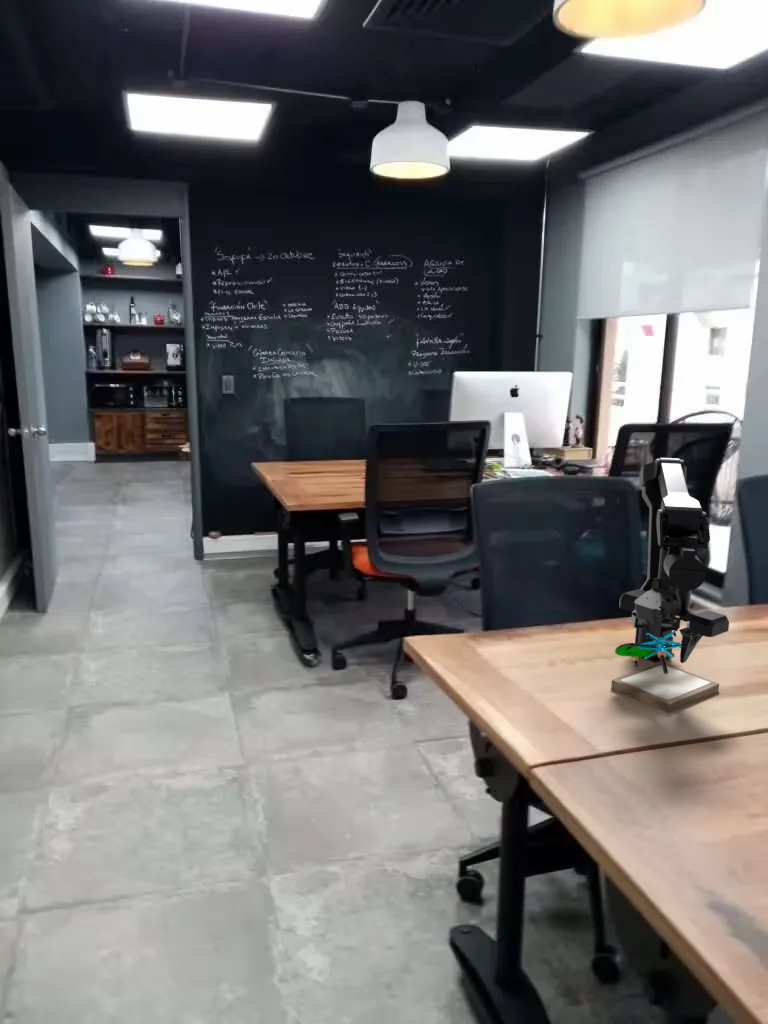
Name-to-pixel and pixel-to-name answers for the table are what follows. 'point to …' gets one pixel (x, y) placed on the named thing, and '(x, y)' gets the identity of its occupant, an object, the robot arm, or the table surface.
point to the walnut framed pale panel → (665, 687)
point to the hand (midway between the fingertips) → (667, 656)
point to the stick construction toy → (649, 649)
